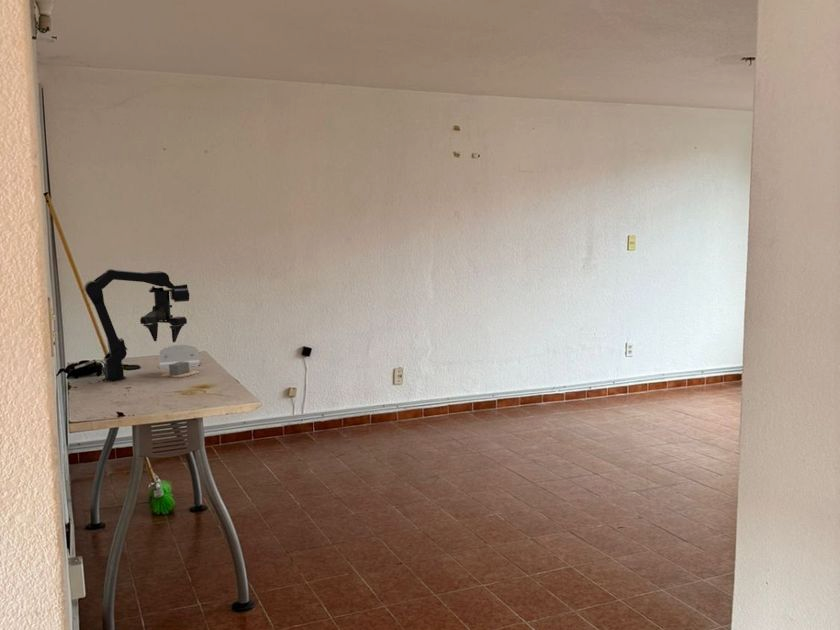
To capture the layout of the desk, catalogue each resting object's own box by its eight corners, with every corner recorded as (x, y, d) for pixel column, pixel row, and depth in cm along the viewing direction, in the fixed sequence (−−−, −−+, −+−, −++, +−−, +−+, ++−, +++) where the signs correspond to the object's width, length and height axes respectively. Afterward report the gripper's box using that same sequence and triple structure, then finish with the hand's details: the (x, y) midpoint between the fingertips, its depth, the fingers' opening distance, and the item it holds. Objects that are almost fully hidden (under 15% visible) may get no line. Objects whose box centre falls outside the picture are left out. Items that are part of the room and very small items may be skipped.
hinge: (158, 369, 330) (157, 345, 332) (159, 370, 334) (158, 347, 336) (200, 366, 334) (199, 342, 336) (200, 367, 339) (199, 344, 341)
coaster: (162, 376, 315) (162, 374, 315) (178, 371, 324) (178, 369, 324) (183, 377, 312) (183, 376, 311) (199, 372, 321) (198, 371, 321)
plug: (177, 375, 314) (169, 374, 315) (192, 370, 322) (184, 370, 324) (177, 365, 313) (169, 364, 314) (192, 360, 322) (184, 360, 323)
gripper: (129, 304, 313) (132, 344, 315) (168, 306, 306) (170, 346, 308) (148, 301, 323) (151, 339, 325) (186, 302, 316) (188, 341, 318)
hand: (164, 341), depth 319 cm, fingers open, 9 cm apart
